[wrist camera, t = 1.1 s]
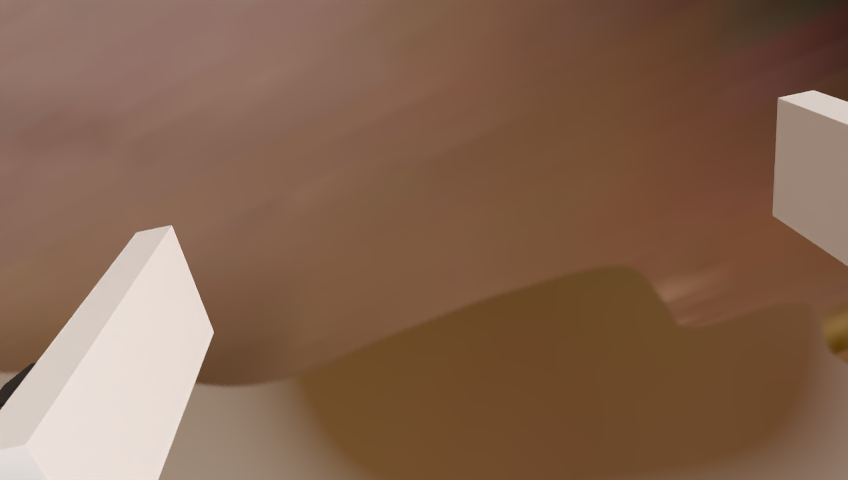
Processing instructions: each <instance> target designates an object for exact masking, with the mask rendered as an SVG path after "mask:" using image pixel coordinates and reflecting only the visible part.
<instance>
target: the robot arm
mask: <svg viewBox="0 0 848 480" xmlns="http://www.w3.org/2000/svg"><path fill="white" fill-rule="evenodd" d="M773 216H775V217H776V218H777V219H779V220H780V221H782V222H783V223H785V224H786V225H788V226H789V227H791V228H792V229H794V230H795V231H797V232H798V233H800V234H801V235H803V236H804V237H806V238H807V239H809V240H810V241H811V242H813V243H814V244H816V245H817V246H819V247H820V248H822V249H823V250H825V251H826V252H828V253H829V254H831V255H832V256H834V257H835V258H837V259H838V260H840V261H841V262H843V263H844V264H846V265H847V266H848V102H846V101H843V100H840V99H837V98H834V97H832V96H829V95H826V94H823V93H820V92H817V91H814V90H813V91H808V92H804V93H799V94H794V95H789V96H785V97H780V98H778V110H777V132H776V154H775V175H774V197H773ZM213 333H214V331H213V329H212V326H211V324H210V321H209V319H208V316H207V314H206V311H205V308H204V306H203V303H202V301H201V298H200V296H199V293H198V291H197V288H196V286H195V283H194V280H193V278H192V275H191V273H190V270H189V268H188V265H187V263H186V260H185V258H184V255H183V253H182V250H181V247H180V245H179V242H178V240H177V237H176V235H175V232H174V230H173V227H172V225H170V226H165V227H161V228H156V229H151V230H146V231H142V232H137V233H136V234H135V235H134V236H133V238H132V239H131V240H130V242H129V243H128V244H127V246H126V247H125V248H124V249H123V251H122V252H121V253H120V255H119V256H118V257H117V259H116V260H115V261H114V263H113V264H112V265H111V266H110V268H109V269H108V270H107V272H106V273H105V274H104V276H103V277H102V278H101V279H100V281H99V282H98V283H97V285H96V286H95V287H94V289H93V290H92V291H91V292H90V294H89V295H88V296H87V298H86V299H85V300H84V302H83V303H82V304H81V306H80V307H79V308H78V309H77V311H76V312H75V313H74V315H73V316H72V317H71V319H70V320H69V321H68V322H67V324H66V325H65V326H64V328H63V329H62V330H61V332H60V333H59V334H58V335H57V337H56V338H55V339H54V341H53V342H52V343H51V345H50V346H49V347H48V349H47V350H46V351H45V352H44V354H43V355H42V356H41V358H40V359H39V360H38V362H37V363H32V364H30V365H29V366H28V367H26V368H25V369H24V370H23V371H21V372H20V373H19V374H18V375H16V376H15V377H14V378H13V379H11V380H10V381H9V382H8V383H6V384H5V385H4V386H3V387H2V389H1V390H0V480H158V479H159V476H160V474H161V471H162V468H163V466H164V463H165V460H166V458H167V455H168V453H169V450H170V447H171V445H172V442H173V439H174V436H175V434H176V431H177V429H178V426H179V423H180V421H181V418H182V415H183V413H184V410H185V408H186V405H187V402H188V399H189V397H190V394H191V392H192V389H193V386H194V384H195V381H196V378H197V376H198V373H199V370H200V368H201V365H202V362H203V360H204V357H205V354H206V352H207V349H208V347H209V344H210V341H211V339H212V336H213Z"/></svg>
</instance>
